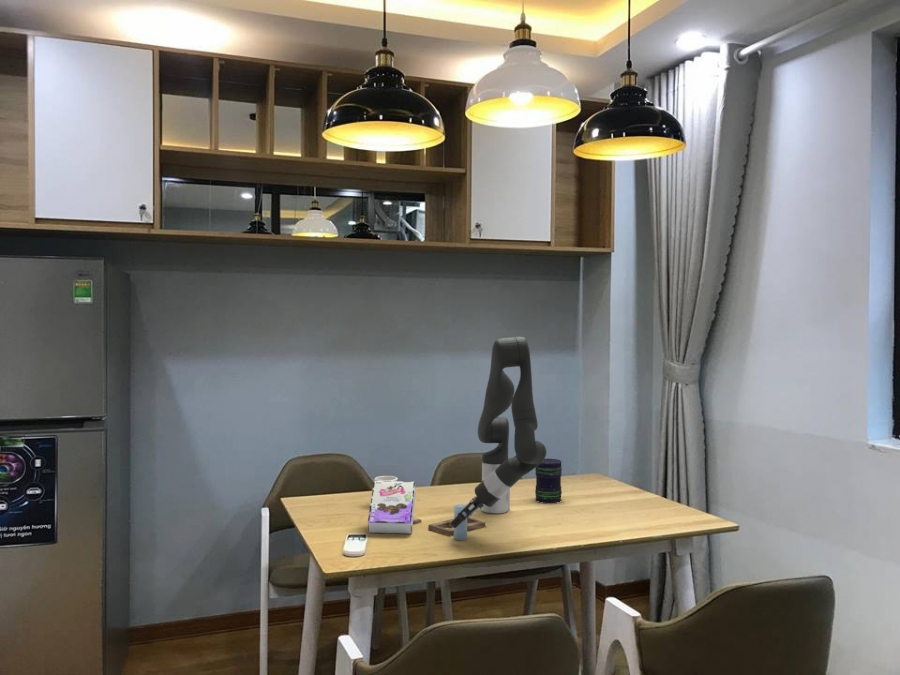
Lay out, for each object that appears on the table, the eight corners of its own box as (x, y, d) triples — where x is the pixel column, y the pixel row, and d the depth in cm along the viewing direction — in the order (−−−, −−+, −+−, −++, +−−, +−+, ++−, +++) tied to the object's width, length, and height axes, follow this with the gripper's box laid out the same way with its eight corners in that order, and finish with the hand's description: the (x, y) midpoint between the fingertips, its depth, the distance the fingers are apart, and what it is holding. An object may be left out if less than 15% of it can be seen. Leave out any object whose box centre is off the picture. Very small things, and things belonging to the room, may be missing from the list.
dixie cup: (369, 505, 259) (369, 478, 259) (387, 501, 265) (387, 474, 265) (384, 509, 253) (384, 481, 253) (402, 505, 259) (402, 478, 259)
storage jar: (563, 503, 262) (563, 463, 262) (536, 503, 262) (536, 463, 262) (559, 497, 272) (559, 458, 272) (534, 497, 272) (534, 458, 272)
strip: (412, 519, 240) (413, 496, 239) (421, 522, 236) (421, 498, 236) (396, 523, 235) (396, 499, 235) (405, 526, 232) (405, 501, 231)
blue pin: (460, 535, 221) (460, 503, 221) (469, 538, 218) (469, 506, 218) (451, 538, 219) (451, 505, 218) (460, 541, 216) (460, 508, 215)
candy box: (366, 522, 220) (373, 479, 232) (368, 533, 224) (374, 491, 236) (411, 523, 219) (415, 480, 232) (412, 534, 223) (416, 491, 236)
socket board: (464, 520, 239) (464, 516, 239) (485, 526, 232) (485, 521, 232) (428, 529, 228) (428, 524, 228) (449, 536, 221) (449, 531, 221)
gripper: (491, 474, 222) (457, 507, 226) (477, 483, 209) (441, 518, 213) (508, 492, 220) (472, 525, 224) (494, 502, 207) (457, 537, 211)
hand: (457, 521), depth 219 cm, fingers open, 8 cm apart
